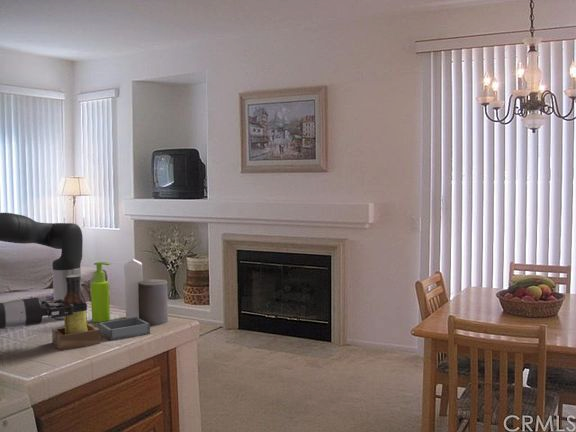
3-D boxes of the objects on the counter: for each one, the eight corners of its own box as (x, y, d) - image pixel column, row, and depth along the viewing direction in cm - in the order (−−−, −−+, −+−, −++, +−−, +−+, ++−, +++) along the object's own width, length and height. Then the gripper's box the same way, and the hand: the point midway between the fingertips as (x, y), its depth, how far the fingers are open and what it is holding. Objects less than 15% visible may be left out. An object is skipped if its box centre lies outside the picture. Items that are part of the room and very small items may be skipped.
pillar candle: (132, 323, 187) (131, 279, 186) (151, 317, 196) (150, 274, 195) (156, 327, 183) (155, 281, 182) (174, 320, 192) (173, 276, 191)
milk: (126, 320, 192) (123, 256, 191) (125, 316, 198) (123, 254, 197) (144, 319, 194) (141, 255, 193) (143, 315, 200) (141, 253, 199)
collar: (52, 342, 166) (51, 329, 166) (90, 336, 173) (89, 323, 172) (60, 350, 158) (60, 336, 158) (100, 343, 165) (99, 329, 164)
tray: (98, 332, 177) (98, 322, 177) (136, 326, 184) (136, 317, 184) (110, 340, 168) (109, 330, 167) (150, 333, 175) (149, 323, 174)
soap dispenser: (107, 322, 190) (105, 263, 189) (88, 321, 191) (86, 263, 190) (115, 318, 196) (113, 261, 195) (97, 317, 197) (95, 261, 196)
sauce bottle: (92, 341, 166) (90, 275, 165) (74, 347, 161) (72, 278, 160) (78, 338, 170) (76, 273, 169) (59, 343, 165) (58, 276, 163)
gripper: (26, 303, 151) (90, 295, 160) (16, 295, 162) (76, 288, 172) (27, 331, 151) (91, 321, 161) (17, 321, 163) (77, 312, 172)
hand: (83, 304), depth 166 cm, fingers closed on sauce bottle, 6 cm apart
